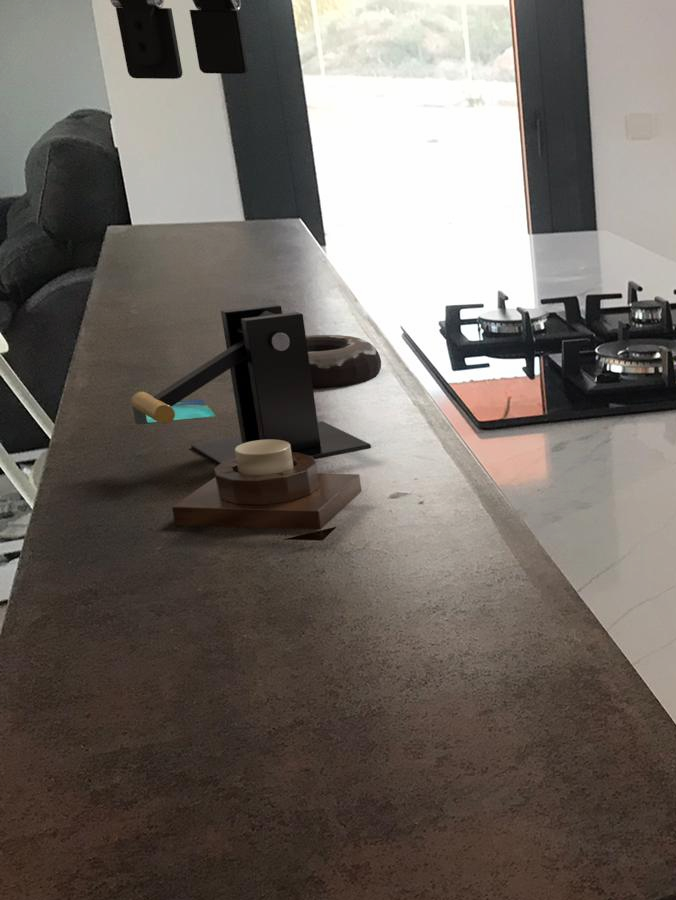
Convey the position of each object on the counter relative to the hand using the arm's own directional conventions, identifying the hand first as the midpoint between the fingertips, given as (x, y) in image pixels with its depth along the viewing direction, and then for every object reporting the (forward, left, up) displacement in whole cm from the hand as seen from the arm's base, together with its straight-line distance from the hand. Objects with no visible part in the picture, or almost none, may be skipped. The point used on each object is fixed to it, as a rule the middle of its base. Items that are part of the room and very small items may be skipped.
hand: (192, 75), depth 84 cm
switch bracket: (-2, +8, -29) cm, 30 cm away
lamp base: (+3, -6, -29) cm, 30 cm away
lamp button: (+3, -6, -25) cm, 26 cm away
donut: (-8, +32, -29) cm, 44 cm away
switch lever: (-4, +6, -22) cm, 23 cm away
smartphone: (-12, +20, -29) cm, 37 cm away
